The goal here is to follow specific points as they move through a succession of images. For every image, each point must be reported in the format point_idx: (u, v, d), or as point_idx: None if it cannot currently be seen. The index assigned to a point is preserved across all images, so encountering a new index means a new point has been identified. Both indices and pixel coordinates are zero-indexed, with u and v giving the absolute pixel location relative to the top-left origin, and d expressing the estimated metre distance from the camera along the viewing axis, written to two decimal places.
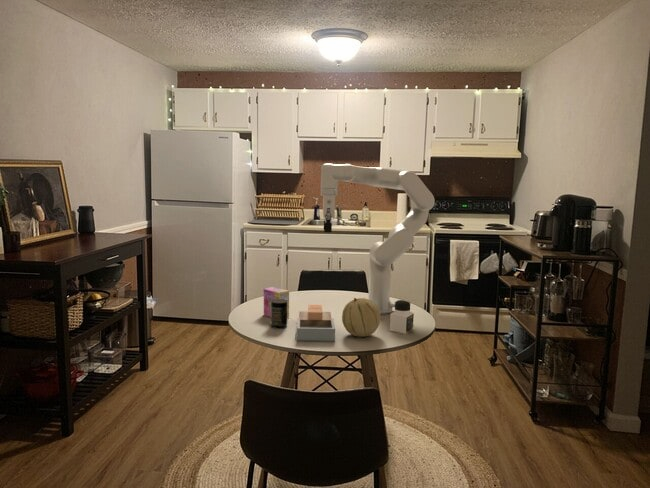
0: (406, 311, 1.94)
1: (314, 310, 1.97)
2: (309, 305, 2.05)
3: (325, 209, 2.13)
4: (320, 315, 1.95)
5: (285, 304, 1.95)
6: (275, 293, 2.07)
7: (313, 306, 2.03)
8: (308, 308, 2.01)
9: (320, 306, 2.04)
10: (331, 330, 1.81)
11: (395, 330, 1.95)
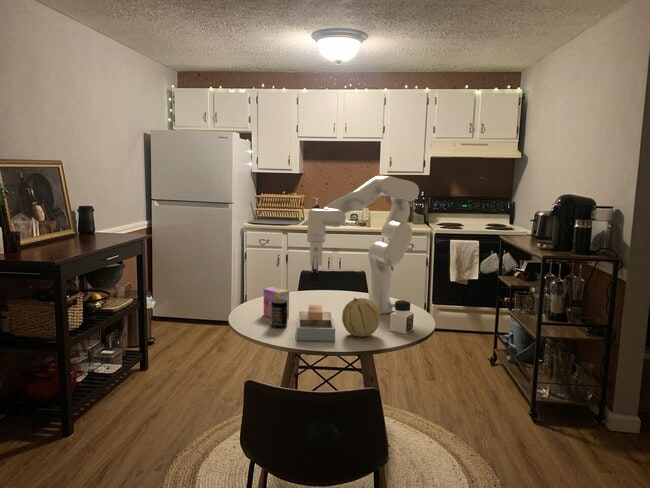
0: (406, 311, 1.94)
1: (314, 310, 1.97)
2: (309, 305, 2.05)
3: (312, 257, 2.03)
4: (320, 315, 1.95)
5: (285, 304, 1.95)
6: (275, 293, 2.07)
7: (313, 306, 2.03)
8: (308, 308, 2.01)
9: (320, 306, 2.04)
10: (331, 330, 1.81)
11: (395, 330, 1.95)
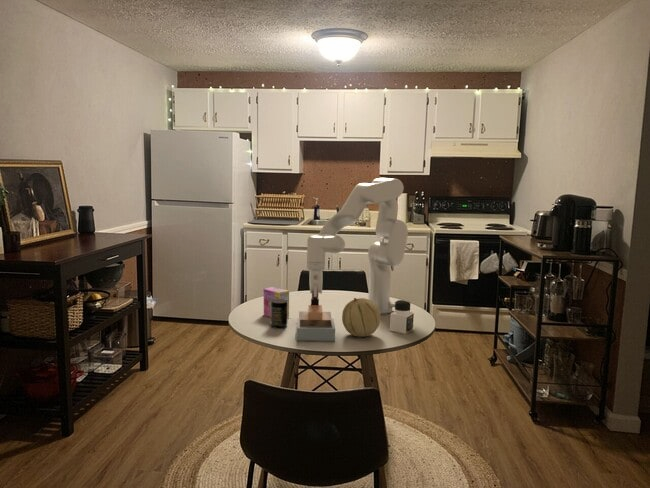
0: (406, 311, 1.94)
1: (314, 310, 1.97)
2: (309, 305, 2.04)
3: (312, 285, 2.01)
4: (320, 315, 1.95)
5: (285, 304, 1.95)
6: (275, 293, 2.07)
7: (313, 306, 2.03)
8: (308, 308, 2.01)
9: (320, 306, 2.03)
10: (331, 330, 1.81)
11: (395, 330, 1.95)
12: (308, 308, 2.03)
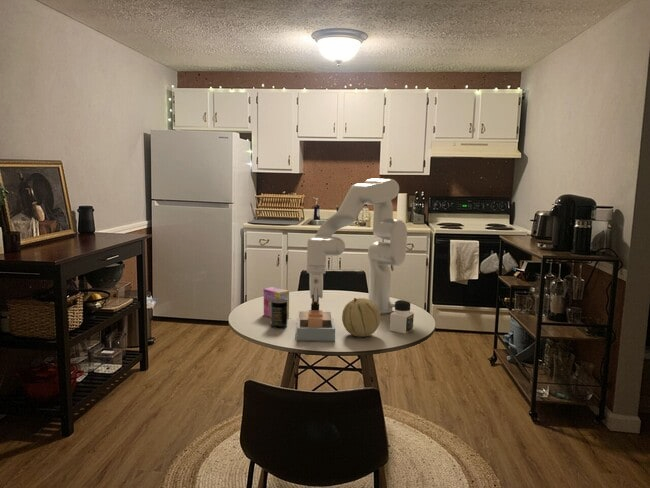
0: (406, 311, 1.94)
1: (313, 326, 1.89)
2: (309, 310, 1.96)
3: (312, 289, 1.93)
4: None
5: (285, 304, 1.95)
6: (275, 293, 2.07)
7: (313, 312, 1.95)
8: (308, 314, 1.93)
9: (321, 312, 1.95)
10: (331, 330, 1.81)
11: (395, 330, 1.95)
12: (308, 313, 1.95)
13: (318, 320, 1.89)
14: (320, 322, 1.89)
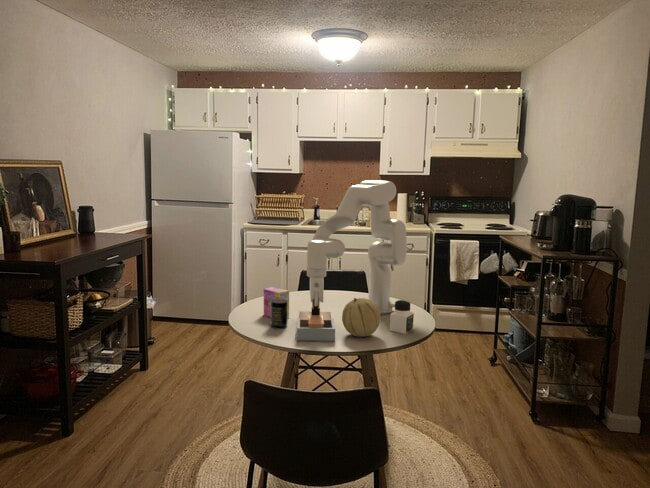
0: (406, 311, 1.94)
1: None
2: (309, 316, 1.91)
3: (312, 293, 1.87)
4: None
5: (285, 304, 1.95)
6: (275, 293, 2.07)
7: None
8: None
9: None
10: (331, 330, 1.81)
11: (395, 330, 1.95)
12: (308, 320, 1.90)
13: (319, 325, 1.84)
14: (321, 327, 1.84)
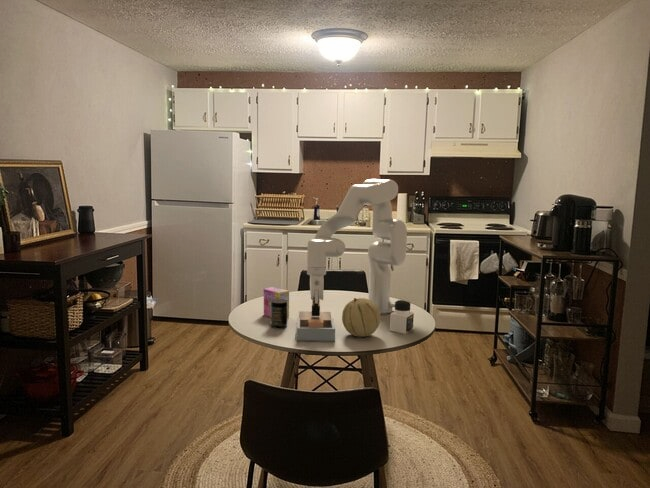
0: (406, 311, 1.94)
1: None
2: None
3: (313, 291, 1.92)
4: None
5: (285, 304, 1.95)
6: (275, 293, 2.07)
7: None
8: None
9: None
10: (331, 330, 1.81)
11: (395, 330, 1.95)
12: (308, 323, 1.91)
13: (319, 323, 1.85)
14: (321, 325, 1.85)
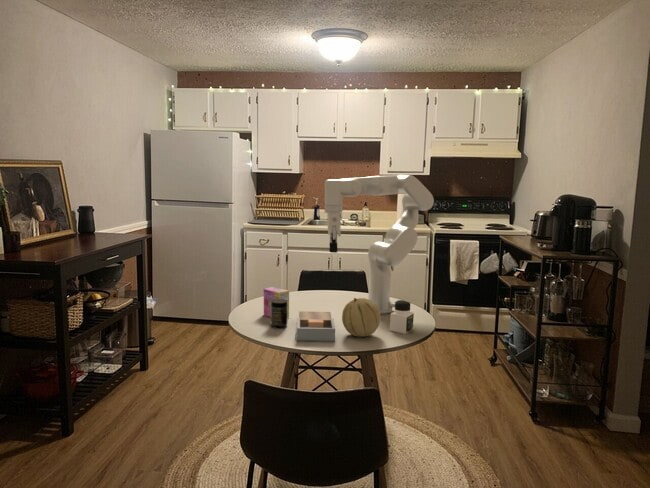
0: (406, 311, 1.94)
1: None
2: None
3: (331, 227, 2.04)
4: None
5: (285, 304, 1.95)
6: (275, 293, 2.07)
7: None
8: None
9: None
10: (331, 330, 1.81)
11: (395, 330, 1.95)
12: (308, 323, 1.91)
13: (319, 323, 1.85)
14: (321, 325, 1.85)
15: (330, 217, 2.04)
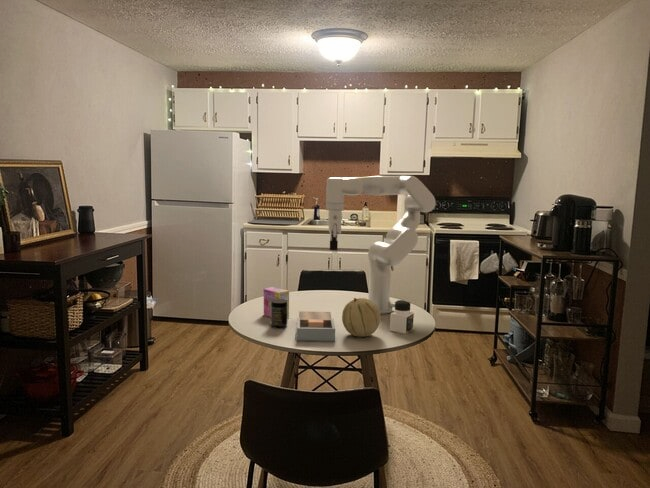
0: (406, 311, 1.94)
1: None
2: None
3: (331, 225, 2.05)
4: None
5: (285, 304, 1.95)
6: (275, 293, 2.07)
7: None
8: None
9: None
10: (331, 330, 1.81)
11: (395, 330, 1.95)
12: (308, 323, 1.91)
13: (319, 323, 1.85)
14: (321, 325, 1.85)
15: (331, 215, 2.05)
